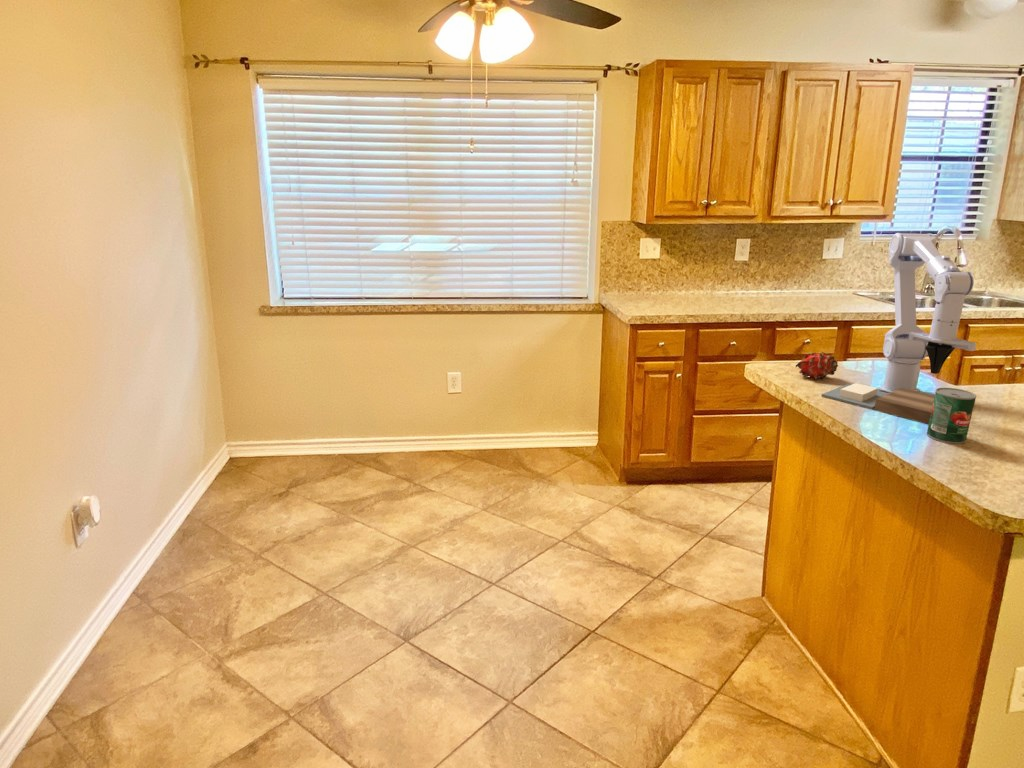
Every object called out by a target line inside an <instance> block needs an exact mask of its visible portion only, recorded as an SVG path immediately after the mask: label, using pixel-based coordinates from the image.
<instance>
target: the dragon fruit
mask: <svg viewBox="0 0 1024 768" xmlns="http://www.w3.org/2000/svg"><path fill="white" fill-rule="evenodd" d="M797 367H798V369H800V370H799V374H801V376H804V377H807V376H810V377H809V378H814V379H815V380H818V379H821V380H822V379H826V377H827V376H828V375H829V376H833V375H835V372H836V371H837V369H838V367H839V365H838V360H836V359H835V357H834V356H831V355H830V354H829V355H827V354H826V353H825V352H823V351H821V353H817V352H814V351H813V352H812V353H811V354H805V356H804V357H803V358H802V359H801V360H800V361H799V362H797V364H796V365H795V368H797Z"/></svg>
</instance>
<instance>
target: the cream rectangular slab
mask: <svg viewBox="0 0 1024 768" xmlns="http://www.w3.org/2000/svg"><path fill="white" fill-rule="evenodd" d="M878 388H879V387H873V386H870V385H866V384H865V385H864V384H861V383H857V382H855V383H853V384H852V385H850V386H847V387H845V388H842V389H840V395H839V396H841V397H845V398H849V399H853V400H857V401H861V402H862V401H865V400H867V399H869V398H872V397H874V396H876V395H877V391H879V390H878Z"/></svg>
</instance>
